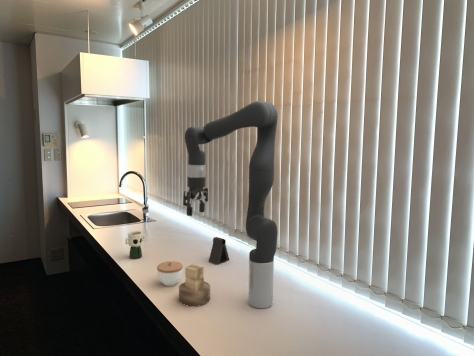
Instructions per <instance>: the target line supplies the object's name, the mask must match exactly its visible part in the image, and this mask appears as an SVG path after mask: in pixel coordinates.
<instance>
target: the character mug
mask: <svg viewBox="0 0 474 356" xmlns="http://www.w3.org/2000/svg"><path fill="white" fill-rule="evenodd" d="M145 240H146V235H145V234H143V231H140V230H134V231H129V232H128V233H127V237H125V245H128V246H129V247H130V248H129V258H131V259H139V258H142V257H143V252H142V247H141V246H142V245H143V241H145Z"/></svg>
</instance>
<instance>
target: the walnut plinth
mask: <svg viewBox="0 0 474 356" xmlns="http://www.w3.org/2000/svg"><path fill="white" fill-rule="evenodd" d="M209 300H210V301H211V284H210V283H209V282H208V281H205V280H204V286H203V287H201V288H199V289H198V290H196V291H195V290H192V289H189V288H185V281H184V282H182V283H181V284H180V285H179V286H178V301H180V302H181V303H182V304H181V303H180V302H179V303H180V304H181V305H183V304H185V305H188V306H187V307H191V306H195V307H199V306H198V305H201V306H204V305H206V304H208V303H209V302H210V301H209ZM207 302H208V303H207ZM205 303H206V304H205ZM203 304H204V305H203ZM185 305H184V306H185Z"/></svg>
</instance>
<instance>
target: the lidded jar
mask: <svg viewBox="0 0 474 356" xmlns="http://www.w3.org/2000/svg"><path fill="white" fill-rule="evenodd" d="M183 267H184V266H183V263H181V262H179V261H171V260H169V261H165V262H161V263H159V264H157V266H156V271H157V277H158V280H159V281H160V282H161V283H162V285H163V286H166V287H172V286H176V285H177V284H178V282H180V281H181V280H182V279H181V278H182V276H183Z"/></svg>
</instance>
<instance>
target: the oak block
mask: <svg viewBox="0 0 474 356" xmlns="http://www.w3.org/2000/svg"><path fill="white" fill-rule="evenodd" d="M204 271H205V267H204V265H202V264H201V265H200V264H197V263H191V264H190V265H188V266H185V271H184V272H185V274H184V275H185V279H184V280H185V281H184V282H185V288H189V289H192V290H195V291H196V290H198V289H199V288H201V287H203V286H204V281H205V276H204V275H205V274H204V273H205V272H204Z"/></svg>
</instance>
